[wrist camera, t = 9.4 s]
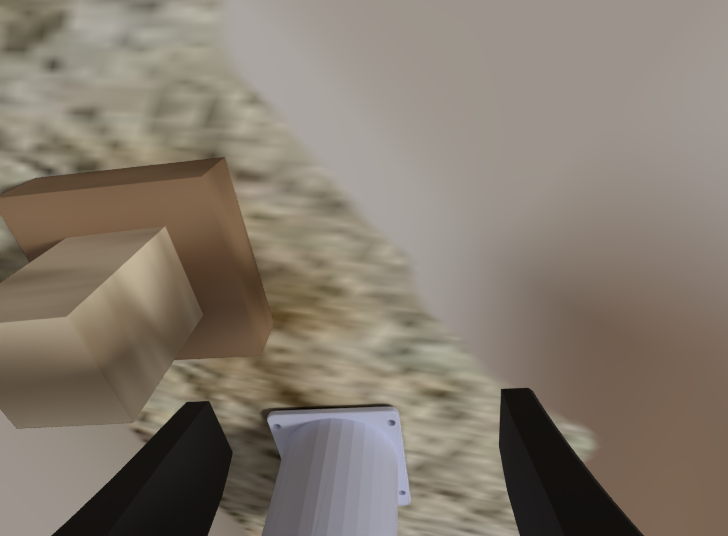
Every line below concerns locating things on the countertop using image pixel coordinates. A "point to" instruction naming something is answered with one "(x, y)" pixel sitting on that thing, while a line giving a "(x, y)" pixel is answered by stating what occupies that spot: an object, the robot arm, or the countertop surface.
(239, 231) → the walnut block
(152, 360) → the ash block
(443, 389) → the countertop surface
